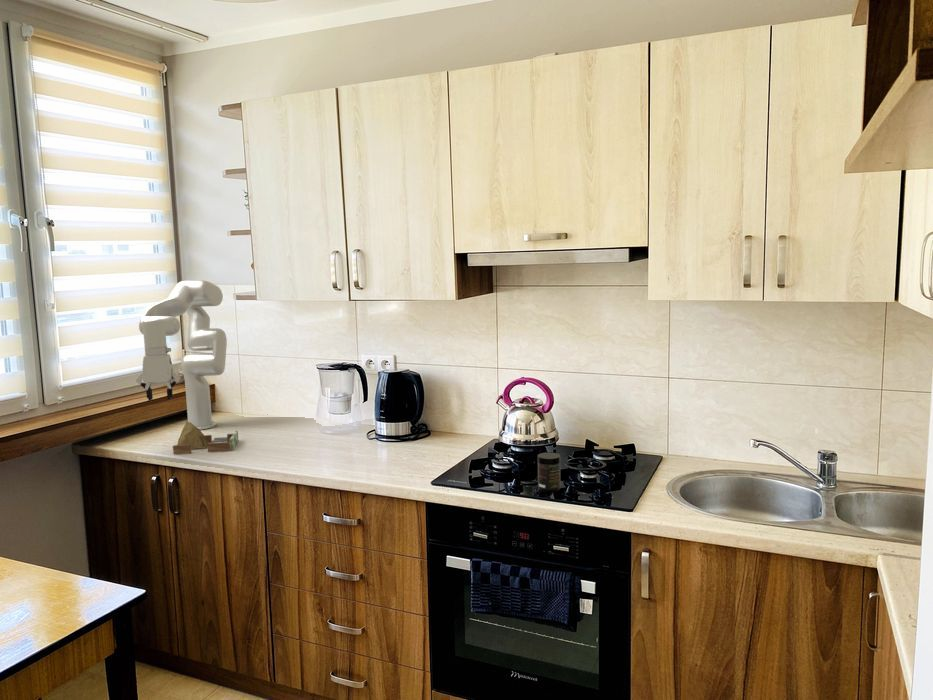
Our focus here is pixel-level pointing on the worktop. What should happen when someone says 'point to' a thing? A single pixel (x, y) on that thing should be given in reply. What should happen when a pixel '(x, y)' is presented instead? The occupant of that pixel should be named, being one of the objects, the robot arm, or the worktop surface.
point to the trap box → (212, 444)
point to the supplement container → (549, 472)
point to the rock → (192, 437)
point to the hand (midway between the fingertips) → (160, 398)
